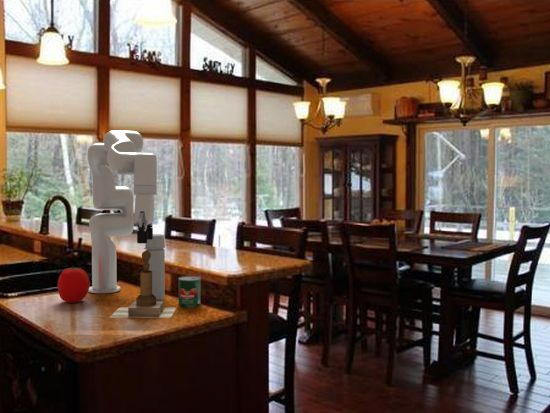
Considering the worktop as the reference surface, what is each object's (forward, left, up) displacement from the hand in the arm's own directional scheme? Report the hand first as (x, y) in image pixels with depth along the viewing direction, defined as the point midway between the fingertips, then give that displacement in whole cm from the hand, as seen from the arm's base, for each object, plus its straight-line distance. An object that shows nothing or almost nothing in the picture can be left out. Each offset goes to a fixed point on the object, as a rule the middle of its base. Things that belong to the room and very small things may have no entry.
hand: (145, 241), depth 189 cm
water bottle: (-23, -1, -26) cm, 35 cm away
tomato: (-20, -30, -26) cm, 45 cm away
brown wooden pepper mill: (+1, 0, -21) cm, 21 cm away
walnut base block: (+1, +1, -24) cm, 24 cm away
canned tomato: (-11, +14, -26) cm, 31 cm away
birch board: (0, 0, -26) cm, 26 cm away
